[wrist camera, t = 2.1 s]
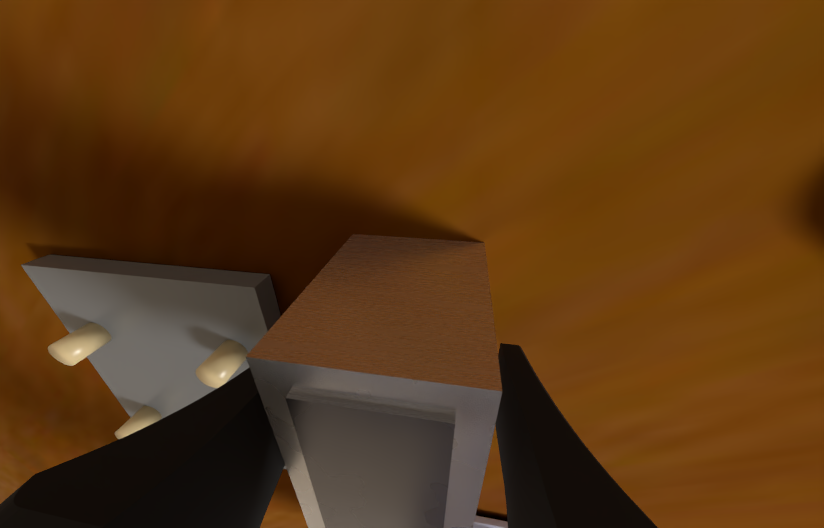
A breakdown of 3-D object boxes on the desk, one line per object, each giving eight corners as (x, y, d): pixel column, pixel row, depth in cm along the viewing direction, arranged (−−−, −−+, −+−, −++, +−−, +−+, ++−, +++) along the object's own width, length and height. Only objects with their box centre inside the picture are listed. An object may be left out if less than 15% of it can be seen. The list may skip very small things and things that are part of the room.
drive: (464, 398, 14) (462, 583, 9) (369, 384, 14) (311, 548, 9) (484, 241, 10) (503, 399, 5) (353, 232, 11) (240, 362, 5)
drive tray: (318, 456, 18) (298, 503, 16) (163, 428, 20) (125, 468, 18) (269, 274, 12) (226, 312, 10) (49, 254, 14) (-31, 283, 11)
